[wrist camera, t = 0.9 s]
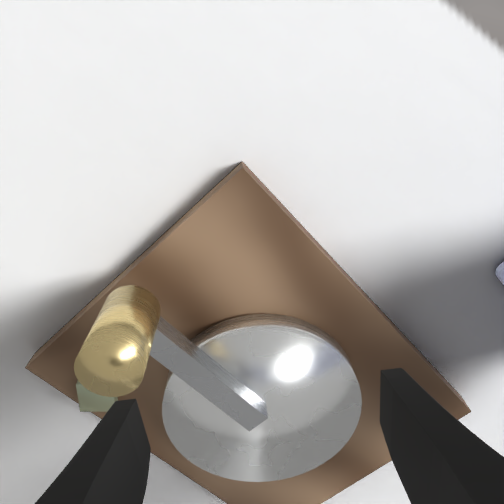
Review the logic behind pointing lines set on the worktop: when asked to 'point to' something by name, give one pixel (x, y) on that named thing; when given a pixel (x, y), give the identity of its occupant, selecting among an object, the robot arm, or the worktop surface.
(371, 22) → the worktop surface
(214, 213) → the brown flat rectangular slab
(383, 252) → the worktop surface
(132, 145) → the worktop surface
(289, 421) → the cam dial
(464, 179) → the worktop surface
